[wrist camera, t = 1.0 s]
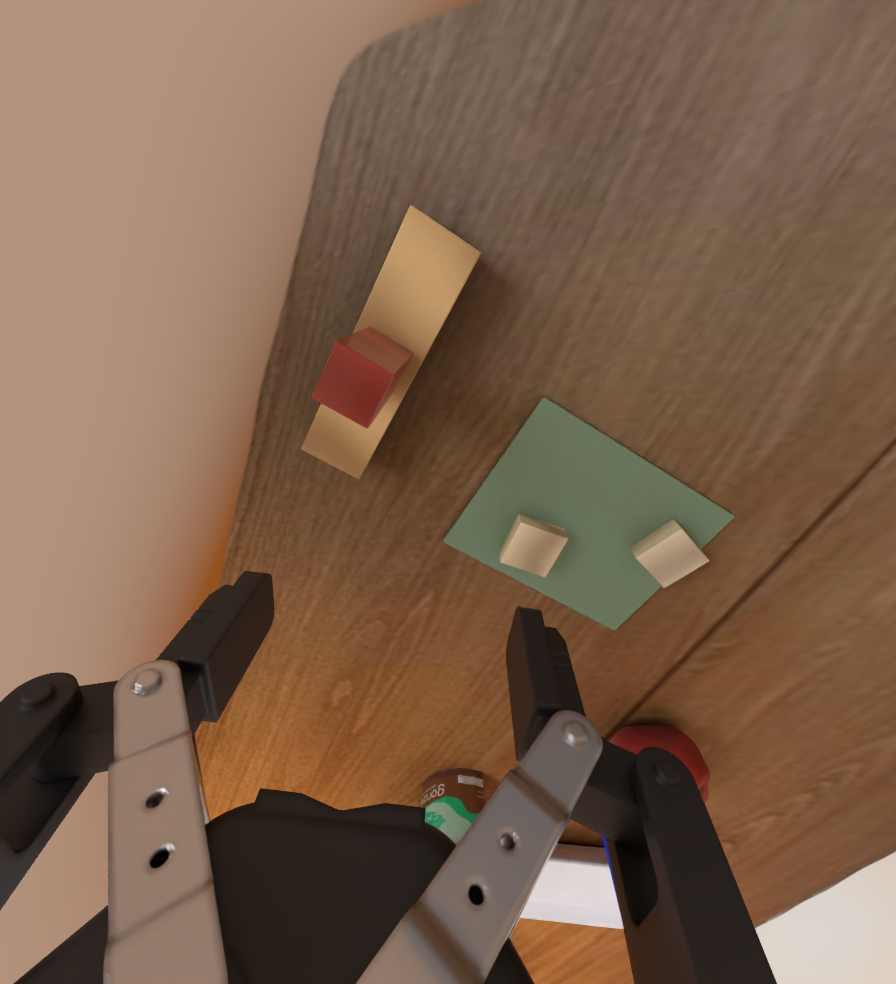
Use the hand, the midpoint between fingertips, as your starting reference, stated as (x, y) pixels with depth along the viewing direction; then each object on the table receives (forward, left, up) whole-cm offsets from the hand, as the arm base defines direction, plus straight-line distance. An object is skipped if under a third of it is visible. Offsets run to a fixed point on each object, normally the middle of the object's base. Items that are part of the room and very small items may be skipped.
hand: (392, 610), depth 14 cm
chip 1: (+11, -4, -19) cm, 22 cm away
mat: (+14, -1, -19) cm, 24 cm away
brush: (-5, +3, -19) cm, 20 cm away
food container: (+22, -38, -19) cm, 48 cm away
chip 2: (+21, +1, -19) cm, 28 cm away
